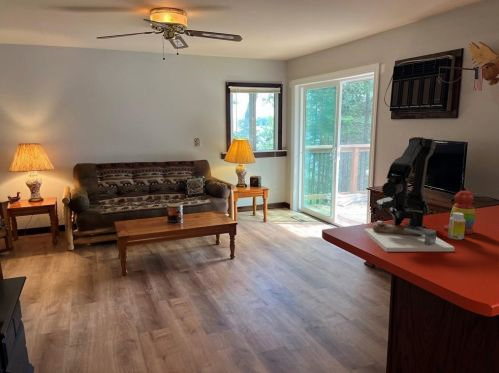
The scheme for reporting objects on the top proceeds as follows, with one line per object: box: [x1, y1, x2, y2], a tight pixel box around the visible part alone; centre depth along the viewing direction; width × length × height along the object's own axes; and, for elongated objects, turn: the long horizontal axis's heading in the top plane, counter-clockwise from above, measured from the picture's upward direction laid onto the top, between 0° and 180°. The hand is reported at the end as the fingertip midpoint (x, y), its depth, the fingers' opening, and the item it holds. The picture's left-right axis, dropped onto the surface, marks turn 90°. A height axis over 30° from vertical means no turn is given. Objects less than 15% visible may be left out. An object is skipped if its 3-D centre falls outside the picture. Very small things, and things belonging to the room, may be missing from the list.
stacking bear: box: [443, 190, 477, 235], centre depth 158 cm, size 11×10×18 cm
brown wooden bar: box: [372, 222, 423, 236], centre depth 150 cm, size 18×5×2 cm, turn 70°
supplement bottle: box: [447, 212, 465, 240], centre depth 149 cm, size 6×6×10 cm
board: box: [363, 220, 455, 252], centre depth 145 cm, size 24×25×6 cm
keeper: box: [404, 225, 438, 246], centre depth 140 cm, size 10×5×5 cm, turn 41°
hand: (396, 228), depth 153 cm, fingers closed
